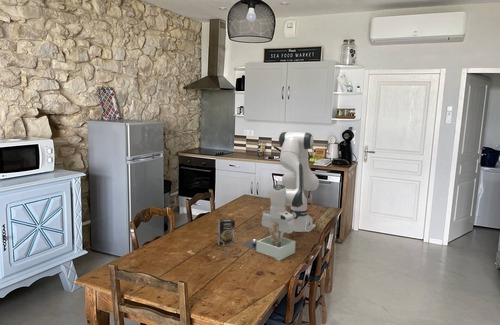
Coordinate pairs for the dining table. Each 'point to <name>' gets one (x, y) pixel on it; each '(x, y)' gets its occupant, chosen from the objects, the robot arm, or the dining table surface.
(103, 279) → the dining table surface
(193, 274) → the dining table surface
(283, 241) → the bin
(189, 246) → the dining table surface
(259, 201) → the dining table surface
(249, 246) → the stud plate
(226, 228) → the coffee box
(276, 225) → the strut
